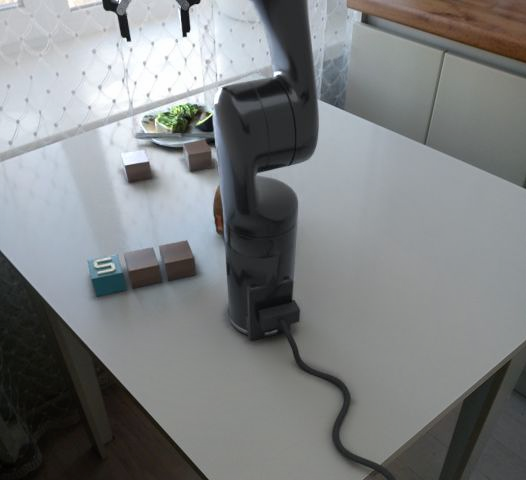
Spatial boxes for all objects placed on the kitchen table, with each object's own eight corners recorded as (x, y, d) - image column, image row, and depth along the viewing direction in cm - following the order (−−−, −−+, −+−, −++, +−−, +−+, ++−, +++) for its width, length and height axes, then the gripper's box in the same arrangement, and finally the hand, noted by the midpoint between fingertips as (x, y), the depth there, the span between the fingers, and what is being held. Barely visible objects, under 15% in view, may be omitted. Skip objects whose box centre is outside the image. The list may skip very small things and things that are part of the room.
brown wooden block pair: (196, 274, 87) (194, 257, 85) (132, 288, 85) (128, 271, 82) (189, 257, 90) (187, 239, 87) (127, 270, 88) (123, 252, 85)
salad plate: (148, 163, 109) (145, 140, 106) (121, 124, 120) (117, 103, 116) (237, 141, 115) (236, 119, 112) (204, 106, 126) (202, 85, 122)
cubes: (212, 167, 108) (211, 150, 106) (128, 182, 105) (124, 165, 102) (206, 156, 111) (205, 139, 109) (124, 170, 108) (120, 153, 105)
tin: (231, 246, 92) (228, 203, 86) (212, 244, 92) (209, 200, 86) (250, 196, 102) (249, 154, 95) (233, 194, 102) (232, 152, 96)
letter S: (126, 290, 85) (122, 271, 82) (96, 296, 84) (90, 278, 81) (121, 271, 88) (117, 252, 85) (92, 277, 87) (86, 259, 84)
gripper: (84, -87, 70) (111, 51, 82) (196, -93, 72) (206, 42, 84) (83, -98, 75) (108, 33, 87) (188, -103, 77) (198, 26, 89)
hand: (156, 37), depth 85 cm, fingers open, 8 cm apart
